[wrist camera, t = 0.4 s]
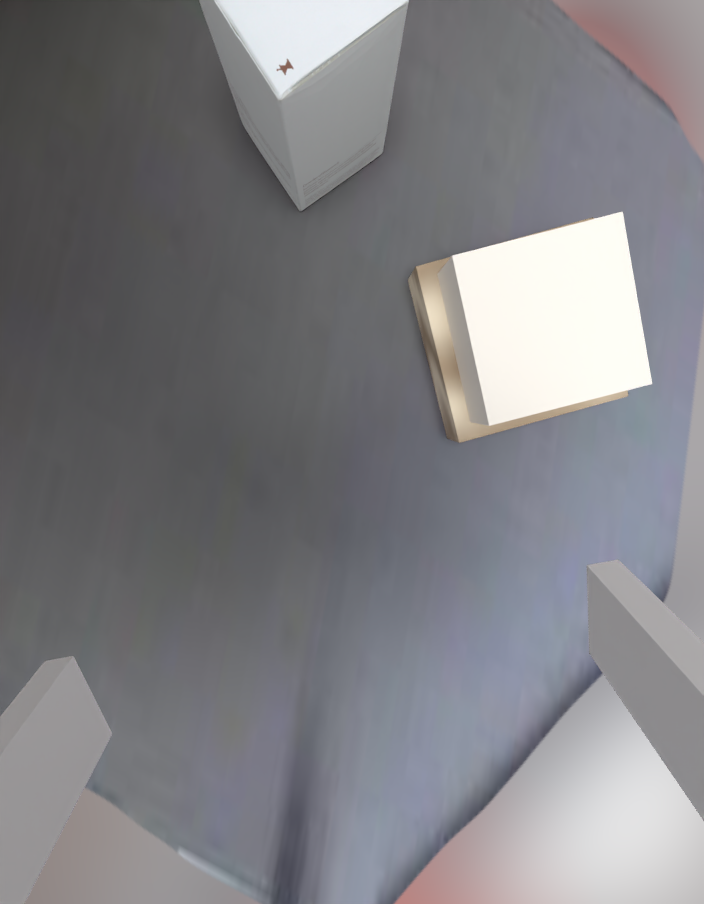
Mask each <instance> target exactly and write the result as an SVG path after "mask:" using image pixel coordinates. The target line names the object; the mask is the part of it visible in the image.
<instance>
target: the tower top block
mask: <svg viewBox="0 0 704 904" xmlns="http://www.w3.org/2000/svg"><path fill="white" fill-rule="evenodd" d="M437 275H438V280H439V284H440V289H441V293H442V298H443V302H444V307H445V311H446V316H447V320H448V325H449V329H450V333H451V338H452V342H453V347H454V351H455V356H456V360H457V365H458V369H459V374H460V378H461V383H462V387H463V392H464V396H465V401H466V405H467V410H468V414H469V419H470V422H472V423H477V424H482V425H487V426H491V425H495V424H498V423H502V422H506V421H510V420H514V419H518V418H522V417H526V416H529V415H533V414H537V413H541V412H545V411H549V410H553V409H557V408H560V407H564V406H568V405H572V404H576V403H580V402H584V401H588V400H592V399H595V398H599V397H603V396H607V395H611V394H615V393H619V392H623V391H626V390H630V389H634V388H638V387H642V386H646V385H650V384H652V380H651V374H650V369H649V363H648V357H647V351H646V345H645V340H644V334H643V328H642V322H641V316H640V311H639V305H638V299H637V293H636V287H635V282H634V276H633V270H632V264H631V258H630V253H629V247H628V241H627V235H626V229H625V224H624V218H623V212H619V213H615V214H612V215H608V216H604V217H600V218H596V219H592V220H588V221H585V222H581V223H577V224H573V225H569V226H565V227H561V228H557V229H554V230H550V231H546V232H542V233H538V234H534V235H530V236H527V237H523V238H519V239H515V240H511V241H507V242H503V243H499V244H496V245H492V246H488V247H484V248H480V249H476V250H472V251H469V252H465V253H461V254H457V255H453V256H451V258H450V259H449V260H448V261H447V263H446V264H445V265H444V266H443V268H442V269H441V270H440V271H439V273H438V274H437Z"/></svg>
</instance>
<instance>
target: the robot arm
mask: <svg viewBox="0 0 704 904" xmlns="http://www.w3.org/2000/svg"><path fill="white" fill-rule="evenodd" d="M587 590H588V625H589V654H590V655H591V657H592V658H593V660H594V661H595V662H596V664H597V665H598V667H599V668H600V670H601V671H602V673H603V674H604V676H605V677H606V679H607V680H608V681H609V683H610V684H611V686H612V687H613V689H614V690H615V691H616V693H617V695H618V696H619V697H620V699H621V700H622V702H623V703H624V705H625V706H626V708H627V709H628V710H629V712H630V713H631V715H632V717H633V718H634V719H635V721H636V722H637V724H638V725H639V727H640V728H641V729H642V731H643V732H644V734H645V736H646V737H647V738H648V740H649V741H650V743H651V744H652V746H653V747H654V749H655V750H656V751H657V753H658V754H659V756H660V757H661V759H662V760H663V762H664V763H665V765H666V766H667V768H668V769H669V771H670V772H671V773H672V775H673V776H674V778H675V779H676V781H677V782H678V784H679V785H680V787H681V788H682V789H683V791H684V792H685V794H686V795H687V797H688V798H689V800H690V801H691V803H692V804H693V806H694V807H695V809H696V810H697V811H698V813H699V814H700V816H701V817H702V819H703V820H704V642H703V641H702V640H701V639H700V638H699V637H698V636H697V635H696V634H695V633H693V632H692V631H691V630H690V629H689V628H688V627H687V626H686V625H685V624H684V623H683V622H682V621H681V620H680V619H679V618H678V617H677V616H676V615H675V614H674V613H673V612H672V611H671V610H670V609H669V608H668V607H667V606H666V605H665V604H664V603H663V602H662V601H661V600H659V599H658V598H657V597H656V596H655V595H654V594H653V593H652V592H651V591H650V590H649V589H648V588H647V587H646V586H645V585H644V584H643V583H642V582H641V581H640V580H639V579H638V578H637V577H636V576H635V575H634V574H633V573H632V572H631V571H630V570H629V569H628V568H626V567H625V566H624V565H623V564H622V563H621V562H620V561H619V560H613V561H607V562H602V563H596V564H590V565H587ZM111 735H112V732H111V730H110V728H109V726H108V724H107V722H106V720H105V718H104V716H103V714H102V712H101V710H100V708H99V706H98V704H97V702H96V700H95V698H94V696H93V694H92V692H91V690H90V688H89V686H88V684H87V682H86V680H85V678H84V676H83V674H82V672H81V670H80V668H79V666H78V664H77V662H76V660H75V658H74V656H70V657H65V658H59V659H53V660H48V661H44V663H43V664H42V665H41V666H40V668H39V669H38V670H37V671H36V673H35V674H34V675H33V676H32V678H31V679H30V680H29V681H28V683H27V684H26V685H25V686H24V688H23V689H22V690H21V691H20V693H19V694H18V695H17V696H16V698H15V699H14V700H13V701H12V703H11V704H10V705H9V706H8V708H7V709H6V710H5V711H4V713H3V714H2V715H1V716H0V904H25V902H26V900H27V898H28V896H29V894H30V892H31V890H32V888H33V886H34V884H35V882H36V880H37V878H38V876H39V875H40V873H41V871H42V869H43V867H44V865H45V863H46V861H47V859H48V857H49V855H50V853H51V851H52V849H53V848H54V846H55V844H56V842H57V839H58V838H59V836H60V834H61V832H62V830H63V828H64V826H65V824H66V822H67V820H68V819H69V817H70V814H71V813H72V811H73V809H74V807H75V805H76V803H77V801H78V799H79V797H80V795H81V793H82V791H83V790H84V788H85V786H86V784H87V782H88V780H89V778H90V776H91V774H92V772H93V770H94V768H95V766H96V764H97V762H98V761H99V759H100V757H101V755H102V753H103V751H104V749H105V747H106V745H107V743H108V741H109V739H110V737H111Z"/></svg>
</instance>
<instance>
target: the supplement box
mask: <svg viewBox="0 0 704 904" xmlns="http://www.w3.org/2000/svg"><path fill="white" fill-rule="evenodd" d="M199 2H200V5H201V8H202V11H203V13H204V16H205V19H206V22H207V25H208V27H209V30H210V33H211V36H212V39H213V41H214V44H215V47H216V50H217V53H218V56H219V58H220V61H221V64H222V67H223V70H224V72H225V75H226V78H227V81H228V84H229V87H230V89H231V92H232V95H233V98H234V101H235V104H236V107H237V110H238V113H239V116H240V119H241V121H242V124H243V126H244V128H245V129H246V131H247V132H248V134H249V136H250V137H251V139H252V140H253V142H254V143H255V145H256V146H257V148H258V150H259V151H260V153H261V154H262V156H263V157H264V159H265V160H266V162H267V163H268V165H269V166H270V168H271V169H272V171H273V172H274V174H275V175H276V177H277V178H278V180H279V181H280V183H281V184H282V186H283V187H284V189H285V190H286V192H287V193H288V195H289V196H290V198H291V199H292V201H293V202H294V203H295V205H296V206H297V208H298V210H299V211H302V210H304V209H305V208H307V207H308V206H310V205H311V204H313V203H314V202H315V201H317V200H318V199H320V198H321V197H322V196H324V195H325V194H326V193H328V192H330V191H331V190H332V189H334V188H335V187H336V186H338V185H339V184H341V183H342V182H344V181H345V180H346V179H348V178H349V177H351V176H352V175H353V174H355V173H356V172H358V171H359V170H360V169H362V168H363V167H364V166H366V165H367V164H369V163H370V162H372V161H373V160H374V159H375V158H377V157H378V156H380V155H381V154H382V153H383V149H384V143H385V137H386V131H387V125H388V119H389V113H390V107H391V101H392V95H393V89H394V84H395V78H396V72H397V66H398V60H399V54H400V48H401V42H402V36H403V31H404V25H405V18H406V13H407V8H408V3H409V0H199Z"/></svg>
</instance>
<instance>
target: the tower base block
mask: <svg viewBox="0 0 704 904" xmlns="http://www.w3.org/2000/svg"><path fill="white" fill-rule="evenodd" d="M592 219H594V218H593V217H592V218H589V219H585V220H582V221H578V222H574V223H571V224H567V225H564V226H560V227H556V228H553V229H549V230H546V231H550V230H554V229H557V228H561V227H565V226H569V225H573V224H577V223H581V222H585V221H588V220H592ZM546 231H542V232H546ZM542 232H538V233H542ZM538 233H535V234H538ZM531 235H534V234H531ZM528 236H530V235H528ZM524 237H527V236H524ZM520 238H523V237H520ZM517 239H519V238H517ZM513 240H515V239H513ZM510 241H511V240H510ZM506 242H507V241H506ZM502 243H503V242H502ZM495 245H496V244H495ZM450 258H451V257H449V258H445V259H441V260H438V261H434V262H431V263H427V264H423V265H420V266H416V267H415V269H414V271H413V272H412V274H411V275H410V277H409V279H408V283H409V287H410V291H411V295H412V299H413V303H414V307H415V311H416V315H417V319H418V323H419V327H420V331H421V335H422V339H423V343H424V347H425V351H426V355H427V359H428V363H429V367H430V371H431V375H432V379H433V383H434V387H435V391H436V395H437V399H438V403H439V407H440V411H441V415H442V419H443V423H444V427H445V431H446V435H447V438H448V439H451V440H453V441H456V442H458V443H461V442H464V441H468V440H471V439H475V438H479V437H482V436H486V435H490V434H493V433H497V432H500V431H504V430H508V429H511V428H515V427H518V426H522V425H526V424H529V423H533V422H536V421H540V420H544V419H547V418H551V417H555V416H558V415H562V414H565V413H569V412H573V411H576V410H580V409H583V408H587V407H591V406H594V405H598V404H601V403H605V402H609V401H612V400H616V399H619V398H623V397H627V396H628V391H627V390H626V391H623V392H619V393H615V394H611V395H607V396H603V397H599V398H595V399H592V400H588V401H584V402H580V403H576V404H572V405H568V406H564V407H560V408H557V409H553V410H549V411H545V412H541V413H537V414H533V415H529V416H526V417H522V418H518V419H514V420H510V421H506V422H502V423H498V424H495V425H491V426H487V425H482V424H477V423H472V422H470V419H469V414H468V410H467V405H466V401H465V396H464V392H463V387H462V383H461V378H460V374H459V369H458V365H457V360H456V356H455V351H454V347H453V342H452V338H451V333H450V329H449V325H448V320H447V316H446V311H445V307H444V302H443V298H442V293H441V289H440V284H439V280H438V275H437V274H438V273H439V271H440V270H441V269H442V268H443V266H444V265H445V264H446V263H447V261H448V260H449V259H450Z"/></svg>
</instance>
